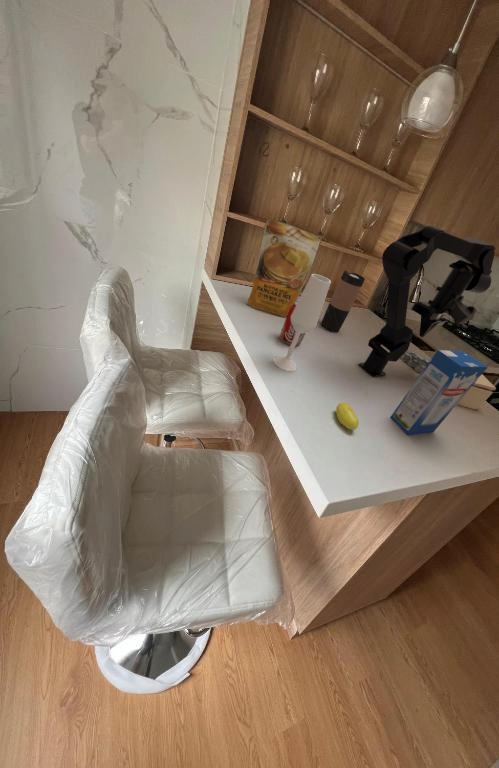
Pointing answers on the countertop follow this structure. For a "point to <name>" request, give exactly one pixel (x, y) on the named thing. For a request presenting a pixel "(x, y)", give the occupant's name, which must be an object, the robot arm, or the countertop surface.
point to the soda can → (290, 328)
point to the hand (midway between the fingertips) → (421, 336)
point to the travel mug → (342, 301)
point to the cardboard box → (475, 397)
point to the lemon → (347, 416)
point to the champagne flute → (305, 315)
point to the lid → (484, 383)
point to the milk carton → (437, 391)
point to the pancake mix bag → (282, 267)
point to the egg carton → (414, 361)
